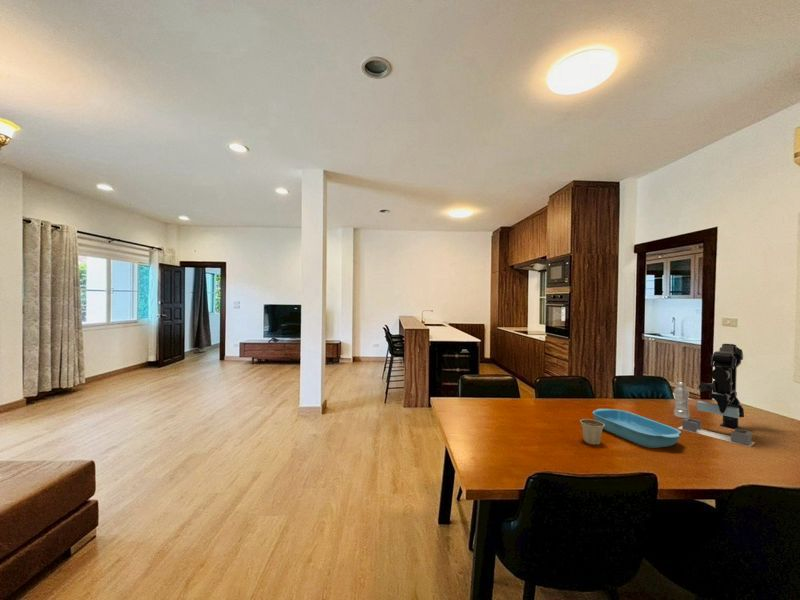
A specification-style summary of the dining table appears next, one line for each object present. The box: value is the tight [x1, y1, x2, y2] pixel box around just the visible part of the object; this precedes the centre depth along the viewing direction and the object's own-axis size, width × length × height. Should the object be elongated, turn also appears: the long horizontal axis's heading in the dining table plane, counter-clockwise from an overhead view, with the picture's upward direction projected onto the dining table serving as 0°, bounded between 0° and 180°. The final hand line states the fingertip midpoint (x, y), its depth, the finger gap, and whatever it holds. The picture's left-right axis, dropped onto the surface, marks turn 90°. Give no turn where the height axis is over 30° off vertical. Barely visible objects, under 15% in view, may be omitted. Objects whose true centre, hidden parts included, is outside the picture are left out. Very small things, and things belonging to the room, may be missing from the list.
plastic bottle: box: [673, 380, 691, 420], centre depth 179 cm, size 6×7×20 cm
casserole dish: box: [592, 408, 682, 449], centre depth 154 cm, size 37×22×7 cm, turn 15°
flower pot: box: [579, 418, 605, 445], centre depth 145 cm, size 9×9×9 cm
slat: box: [696, 400, 740, 419], centre depth 156 cm, size 4×14×4 cm, turn 34°
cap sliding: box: [730, 428, 753, 446], centre depth 146 cm, size 7×5×4 cm
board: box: [677, 425, 756, 448], centre depth 153 cm, size 9×25×1 cm, turn 34°
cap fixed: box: [681, 417, 702, 434], centre depth 160 cm, size 7×5×4 cm
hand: (723, 412), depth 154 cm, fingers closed on slat, 3 cm apart
